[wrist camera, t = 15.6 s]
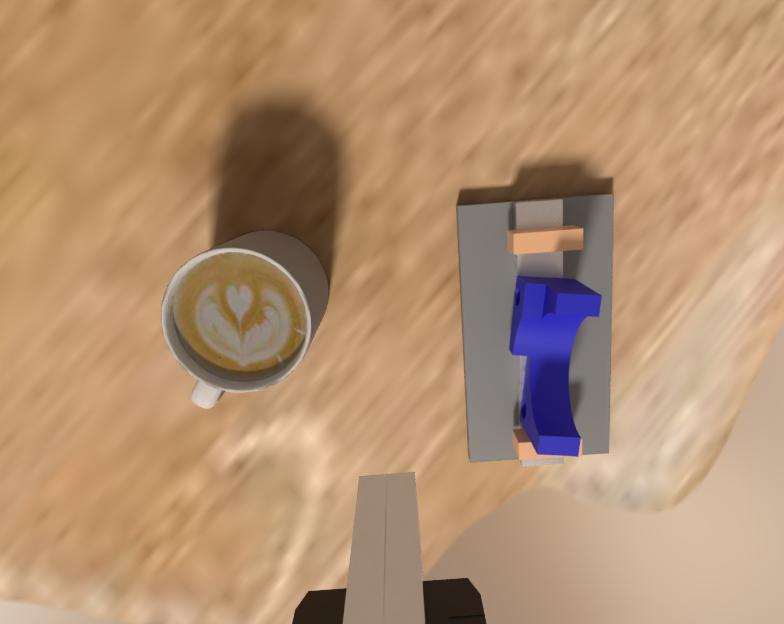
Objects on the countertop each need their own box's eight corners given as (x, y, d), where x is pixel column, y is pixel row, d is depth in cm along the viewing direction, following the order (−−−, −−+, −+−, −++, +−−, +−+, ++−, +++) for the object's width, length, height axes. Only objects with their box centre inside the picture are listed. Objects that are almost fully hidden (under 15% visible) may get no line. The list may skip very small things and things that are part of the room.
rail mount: (456, 205, 45) (463, 209, 40) (607, 193, 45) (633, 196, 40) (468, 455, 51) (476, 485, 46) (604, 446, 50) (625, 475, 46)
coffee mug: (256, 204, 45) (219, 214, 36) (353, 284, 47) (342, 314, 37) (160, 327, 48) (101, 368, 38) (255, 399, 49) (221, 455, 40)
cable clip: (516, 275, 44) (535, 291, 38) (574, 278, 44) (602, 295, 38) (501, 418, 47) (516, 453, 41) (555, 421, 47) (578, 456, 41)
